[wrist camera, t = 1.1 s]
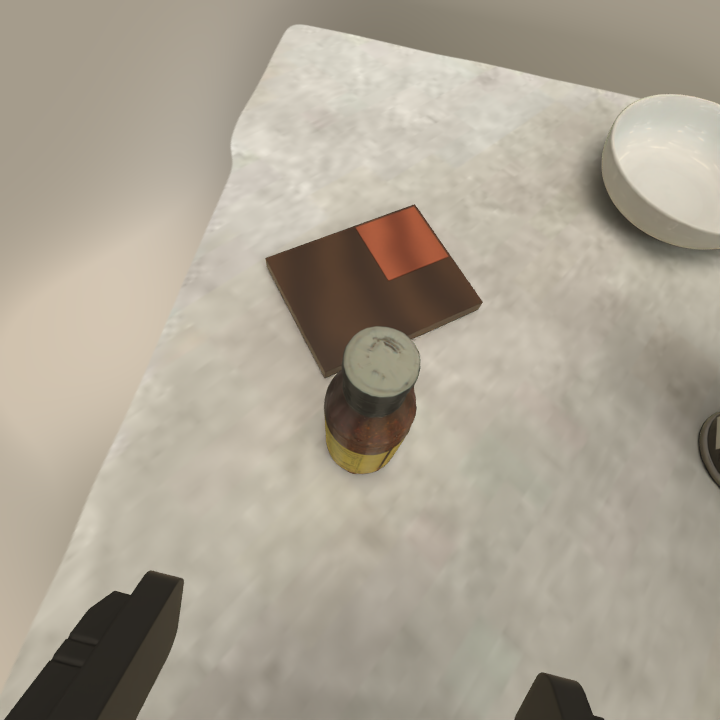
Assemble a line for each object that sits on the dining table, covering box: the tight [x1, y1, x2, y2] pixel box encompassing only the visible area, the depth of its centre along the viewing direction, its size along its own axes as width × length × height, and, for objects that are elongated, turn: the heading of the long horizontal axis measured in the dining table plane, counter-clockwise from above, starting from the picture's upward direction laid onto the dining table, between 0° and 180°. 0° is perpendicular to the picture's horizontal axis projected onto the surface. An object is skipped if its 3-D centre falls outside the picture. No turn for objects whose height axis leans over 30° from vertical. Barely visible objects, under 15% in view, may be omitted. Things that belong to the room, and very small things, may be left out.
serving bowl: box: [602, 94, 720, 249], centre depth 53 cm, size 21×21×7 cm
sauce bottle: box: [324, 326, 420, 474], centre depth 32 cm, size 7×6×20 cm
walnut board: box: [265, 204, 483, 378], centre depth 47 cm, size 18×14×2 cm
